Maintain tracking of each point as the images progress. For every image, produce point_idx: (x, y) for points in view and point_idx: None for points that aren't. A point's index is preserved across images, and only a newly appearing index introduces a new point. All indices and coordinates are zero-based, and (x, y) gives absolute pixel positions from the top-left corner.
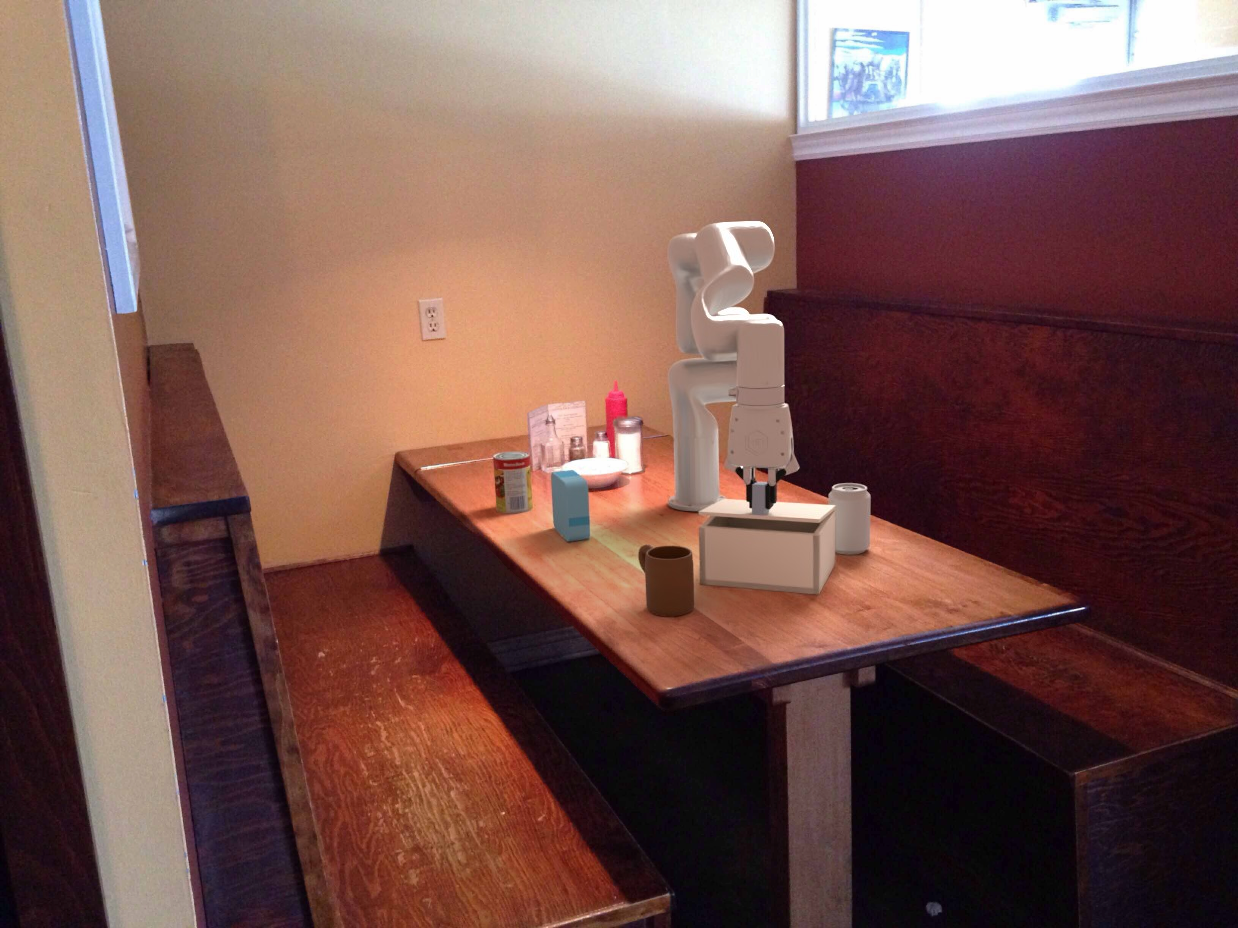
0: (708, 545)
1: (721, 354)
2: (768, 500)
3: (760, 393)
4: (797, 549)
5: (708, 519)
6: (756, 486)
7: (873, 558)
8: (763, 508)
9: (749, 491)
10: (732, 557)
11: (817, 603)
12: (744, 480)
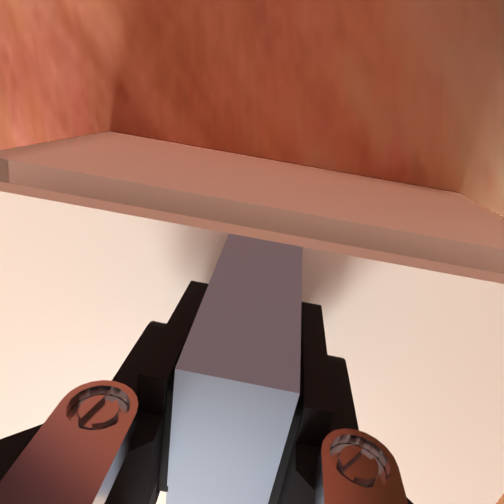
0: (487, 225)
1: None
2: (183, 306)
3: None
4: (112, 159)
5: None
6: (259, 372)
7: None
8: (224, 254)
9: (326, 370)
10: (375, 197)
11: (101, 53)
12: (386, 476)
